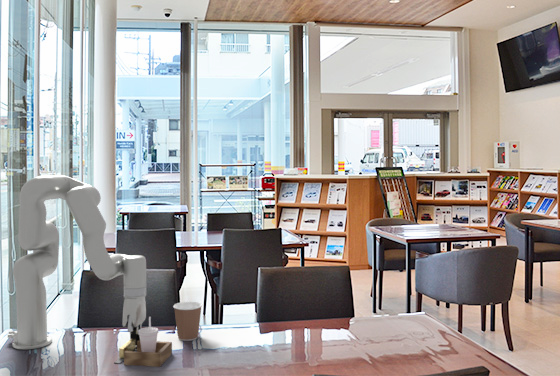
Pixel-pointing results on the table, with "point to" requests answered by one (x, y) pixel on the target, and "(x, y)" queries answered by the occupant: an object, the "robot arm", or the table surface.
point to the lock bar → (127, 347)
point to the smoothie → (148, 338)
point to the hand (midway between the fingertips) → (135, 344)
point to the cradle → (147, 355)
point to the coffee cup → (187, 320)
